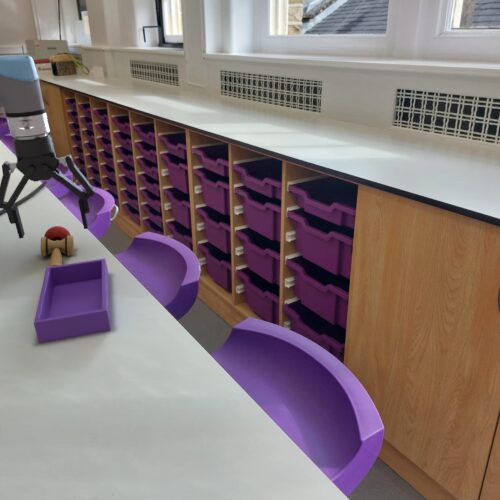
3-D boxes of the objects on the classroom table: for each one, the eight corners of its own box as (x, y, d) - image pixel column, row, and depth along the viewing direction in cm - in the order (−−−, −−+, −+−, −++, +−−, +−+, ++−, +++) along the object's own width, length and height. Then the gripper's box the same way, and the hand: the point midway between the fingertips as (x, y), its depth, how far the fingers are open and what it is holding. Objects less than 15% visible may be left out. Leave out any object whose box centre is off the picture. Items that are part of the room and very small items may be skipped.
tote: (51, 287, 100) (46, 267, 98) (109, 277, 103) (105, 258, 101) (39, 346, 81) (33, 323, 79) (111, 333, 84) (106, 310, 82)
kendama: (81, 277, 106) (78, 237, 121) (69, 254, 102) (68, 216, 117) (45, 289, 105) (47, 247, 119) (32, 266, 101) (36, 225, 116)
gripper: (-40, 146, 94) (-10, 246, 103) (93, 132, 99) (112, 228, 108) (-31, 139, 100) (-3, 234, 109) (94, 126, 106) (111, 217, 115)
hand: (54, 231), depth 109 cm, fingers open, 13 cm apart
